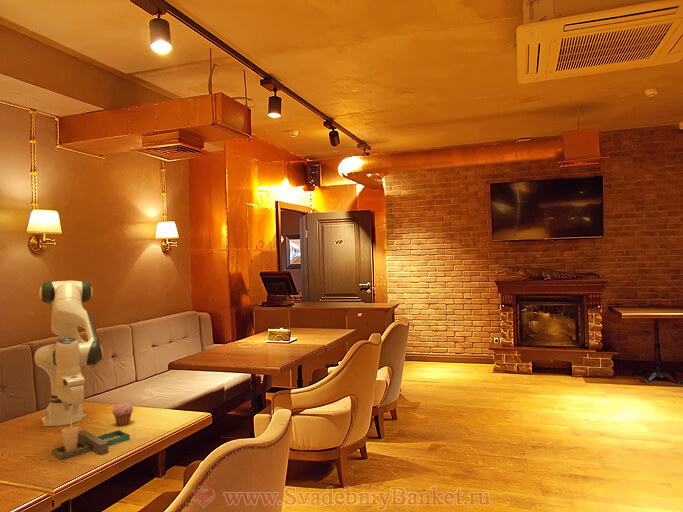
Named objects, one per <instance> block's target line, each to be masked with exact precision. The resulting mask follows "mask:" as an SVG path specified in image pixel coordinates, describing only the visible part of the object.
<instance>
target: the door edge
mask: <svg viewBox="0 0 683 512" xmlns="http://www.w3.org/2000/svg"><path fill="white" fill-rule="evenodd" d="M97 436H98V435H97ZM97 436H96V435H94V434H93V433H91V432H90V431H87V430H85V429H80V430H79V431H78V441H82V442H84V443H85V444H87V445H89V446H90V451H91V450H92V451H93V452H95V453H97V454H99V456H102V455H105V454H108V453H109V446H108V442H106V441H107V440H102V439H100V438H98V437H97ZM78 441H77V442H78Z"/></svg>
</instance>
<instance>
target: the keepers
mask: <svg viewBox="0 0 683 512" xmlns="http://www.w3.org/2000/svg"><path fill="white" fill-rule="evenodd" d="M114 436H115V438H114ZM97 437H98V438H100V439H102V440H104V439H105V440H104V441H106V442H108V447H109V446H112V445H113V446H114V445H117V444H119V443H122V442H126V441H129V440H130V439H131V438H130V437H131V436H130V434H129V433H127V432H124V431H122V430H120V429H118V430H114V431H111V432H108V433H105V434H101V435H97ZM111 437H112V438H111ZM107 438H108V439H107ZM89 452H91V449H90V446H89V445H87V444H85V443H84V442H82V441H77V450H73V451H70V452H67V453H66V451H65V445H64V444H63V445H61V446H58V447H54V448H51V455H52V456H54V457H56V459H58V460H60V461H63V460H66V459H70V458H73V457H76V456H79V455H83V454H86V453H89Z"/></svg>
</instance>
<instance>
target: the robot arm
mask: <svg viewBox="0 0 683 512" xmlns="http://www.w3.org/2000/svg"><path fill="white" fill-rule="evenodd" d="M93 291H94V290H93V287H92V285H91V283H90V282H89V281H85V280H82V281H79V280H58V281H46V282H43V283H42V284H41V286H40V288H39V291H38V292H39V293H38V295H39V298H40V301H41V302H43V303H44V304H48V305H51V304H52V308H51V322H50V323H51V325H50V326H51V327H50V328H51V332H52V333H53V334H55V335H57V336H59V337H60V339H59V340H57V341H56V343H51V344H47V345H44V346H42V347H39V348H38V349H36V351H35V353H34V357H33V358H34V362H35V364H36V365H37V367H39V368H41V369H42V370H44V371H45V372H46V374H47V375H48V377H49V380H50V389H51V394H50V397H49V402H50V403H49V404H48V405H47V407H46V409H45V410H43V411H42V413H43V416H44V417H41V423H42V426H43V427H45V428H46V427H58V426H65V425H66V426H67V425H71V420H70V418H72V424H74V423H77V422H80V421H82V419H84V418H86V417H87V414H86V413H84V411H83V403H84V400H85V399H84V398H85V388H84V387H85V386H84V384H85V383H86V379H85V377H84V376H83V374H82V368H81V367H82V366H95V365H98V364H99V363H100V362H101V361H102V360H103V357H104V350H103V346H102V344H101V343H100V339H99V337H98V333H97V330H96V329H97V328H96V325H95V322H94V320H93V319H94V318H93V316H92V314H91V312H90V311H88V310H86V309H85V308H84V306H83V304H84V303H87V302H89V301H90V300H91V298H92V296H93V293H94V292H93ZM78 327H80V328H83V330H84V331H85V334H86V339H87V341H86V340H84V339H83V338H82V337H81V336H80V334H79V331H78Z"/></svg>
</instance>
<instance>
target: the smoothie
mask: <svg viewBox="0 0 683 512" xmlns="http://www.w3.org/2000/svg"><path fill="white" fill-rule="evenodd" d="M70 420H71V424H70V426H68V427H64V428H62V429H61V434H62V439H63V446H64V445H65V451H64V452H65V453H67V452H70V451H73V450H77V449H78V447H77V442H78V431H80V427H79V426H78V425H77V426H75V425H73V423H72V418H70Z"/></svg>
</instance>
